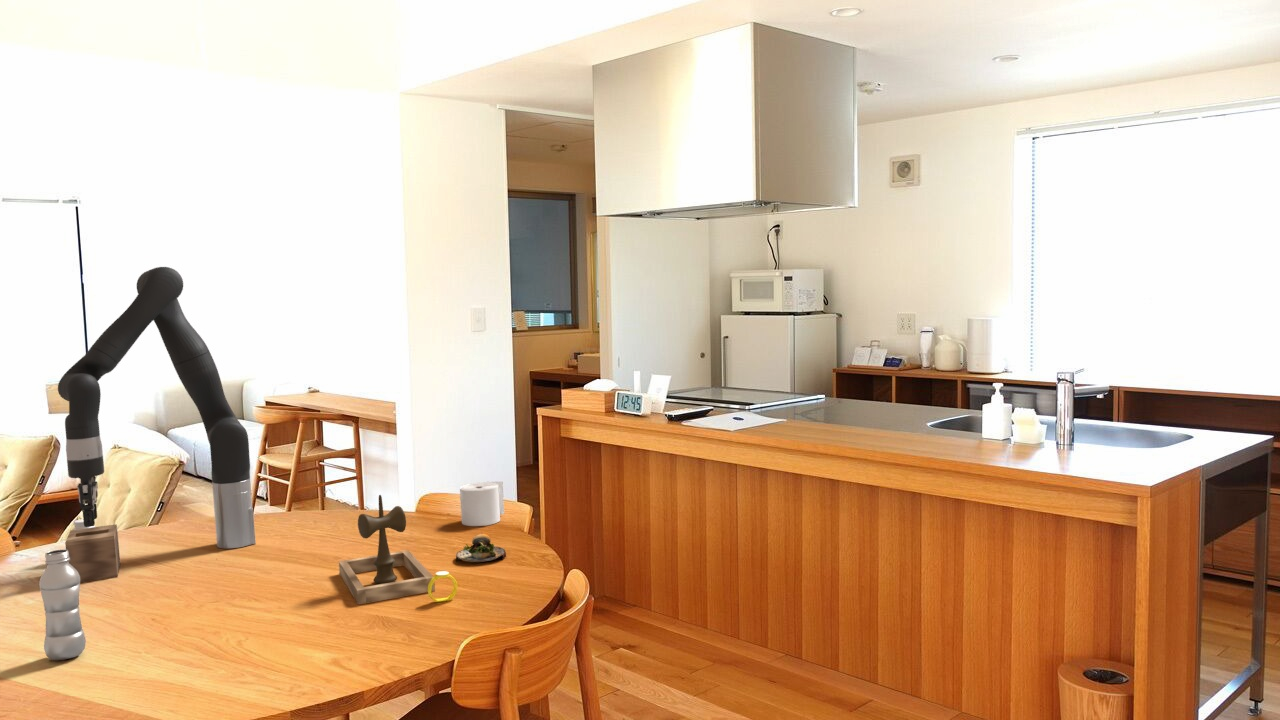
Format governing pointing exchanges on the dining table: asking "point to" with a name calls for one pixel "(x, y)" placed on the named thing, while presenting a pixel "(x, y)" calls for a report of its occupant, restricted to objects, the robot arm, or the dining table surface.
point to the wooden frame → (388, 589)
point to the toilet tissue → (481, 503)
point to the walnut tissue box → (94, 552)
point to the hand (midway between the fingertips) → (90, 522)
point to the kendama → (383, 538)
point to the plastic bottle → (61, 607)
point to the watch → (442, 575)
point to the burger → (480, 550)
